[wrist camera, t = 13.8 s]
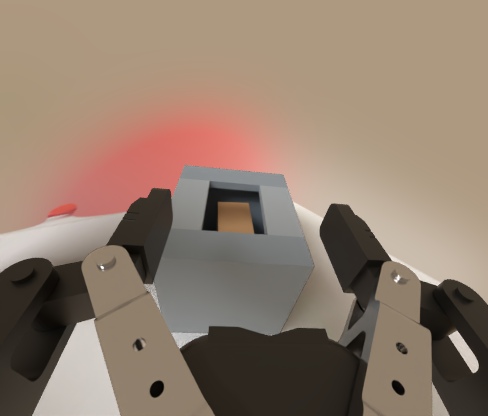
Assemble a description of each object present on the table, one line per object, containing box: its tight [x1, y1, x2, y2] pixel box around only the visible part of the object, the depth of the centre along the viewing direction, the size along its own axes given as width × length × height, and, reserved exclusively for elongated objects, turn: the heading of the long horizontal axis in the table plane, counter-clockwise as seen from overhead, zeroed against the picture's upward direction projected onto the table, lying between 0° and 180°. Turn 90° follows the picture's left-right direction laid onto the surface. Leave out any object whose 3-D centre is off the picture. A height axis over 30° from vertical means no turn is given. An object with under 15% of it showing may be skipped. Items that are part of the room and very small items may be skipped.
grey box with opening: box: [154, 165, 314, 334], centre depth 29 cm, size 16×14×14 cm
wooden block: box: [216, 202, 254, 234], centre depth 30 cm, size 6×4×12 cm, turn 6°
